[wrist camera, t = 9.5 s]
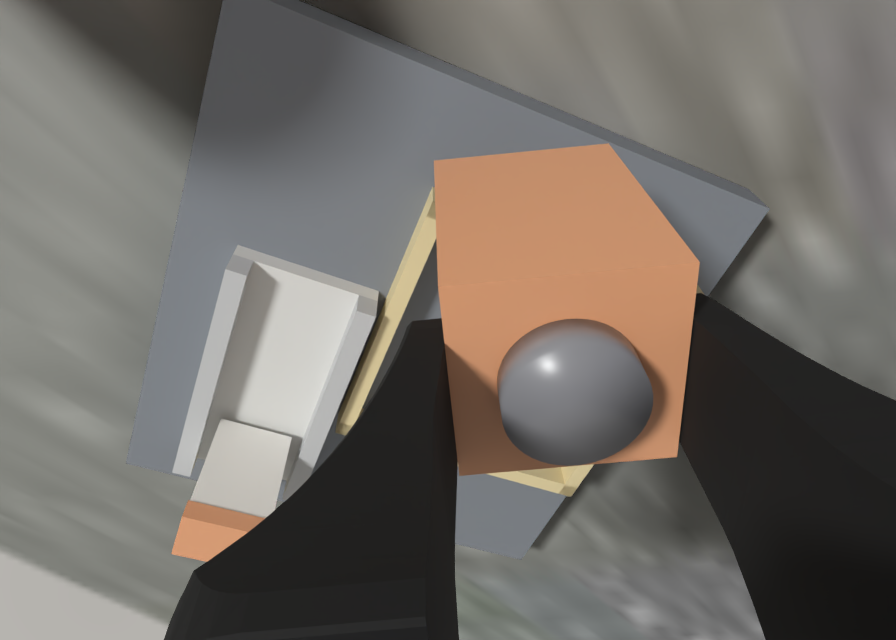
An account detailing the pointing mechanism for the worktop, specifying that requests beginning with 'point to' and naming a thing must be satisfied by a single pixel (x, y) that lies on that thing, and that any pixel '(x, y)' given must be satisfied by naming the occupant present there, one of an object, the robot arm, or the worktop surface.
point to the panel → (351, 244)
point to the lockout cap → (560, 310)
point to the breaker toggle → (232, 489)
